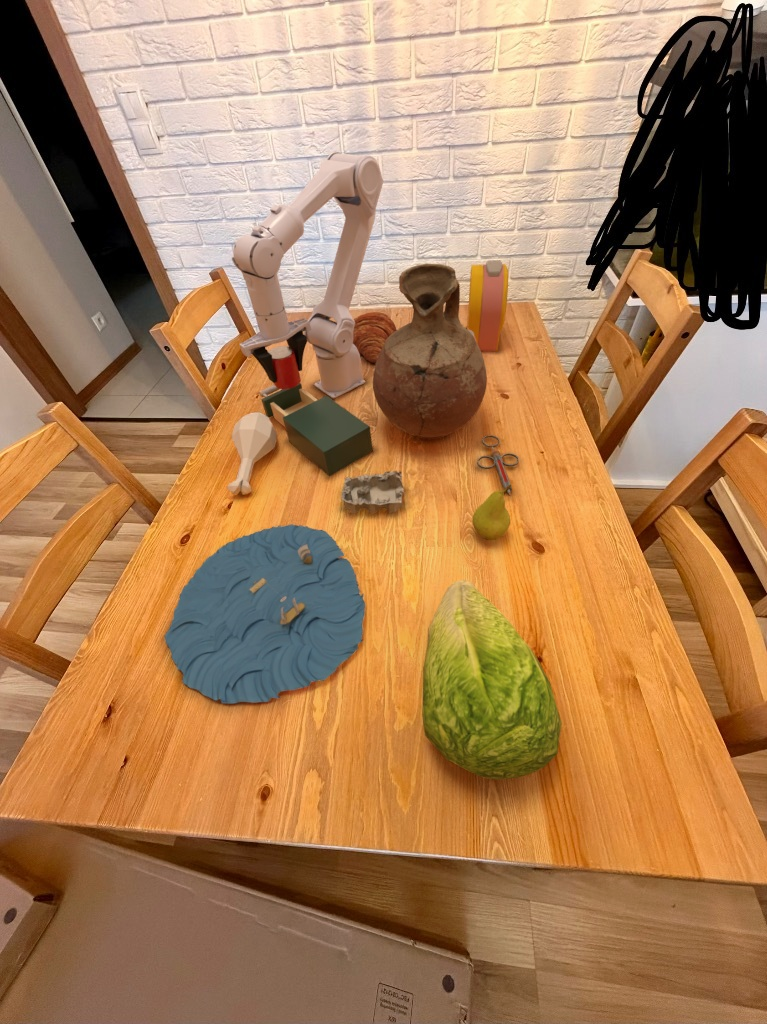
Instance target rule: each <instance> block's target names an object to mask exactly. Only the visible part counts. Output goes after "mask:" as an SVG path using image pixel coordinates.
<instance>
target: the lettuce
mask: <svg viewBox="0 0 767 1024" xmlns="http://www.w3.org/2000/svg"><path fill="white" fill-rule="evenodd" d="M426 642H427V643H426V650H425V654H424V655H425V656H424V660H423V661H424V662H423V667H422V701H421V702H422V704H421V705H422V706H421V707H422V709H421V715H422V723H423V731H424V736H425V738H427V740H428V741H429V742H430V744H432V745H433V747H435V748H436V750H437V751H438V752H439V753H440V754H441V755H442V756H443V757H444V758H445V759H446V760H447V761H449V762H450V763H453V764H455V765H456V766H458V767H460V768H462V769H464V770H466V771H468V772H469V773H471V774H473V775H475V776H477V777H481V778H484V779H488V780H495V781H502V780H512V779H517V778H522V777H526V776H529V775H531V774H535V773H537V772H538V771H540V770H542V769H543V768H545V767H547V765H548V764H549V763H551V761H552V760H553V758H555V757H556V756H557V755H558V752H559V746H560V738H561V732H562V731H561V730H562V724H563V723H562V719H561V715H560V712H559V710H558V706H557V703H556V699H555V696H554V692H553V688H552V685H551V681H550V680H549V678H548V676H547V674H546V672H545V670H544V668H543V666H542V665H541V663H540V661H539V659H538V657H537V656H536V654H535V652H534V650H533V649H532V648H531V647H530V646H529V645H528V643H527V642H526V641H525V640H524V638H522V636H521V634H519V632H518V631H517V629H516V628H515V627H514V625H512V623H511V622H510V621H509V619H508V617H506V616H505V615H504V614H503V613H502V612H501V611H500V609H498V608H497V606H496V605H494V604H493V603H492V602H491V601H490V600H489V599H488V598H487V597H486V596H485V595H484V594H483V593H482V592H480V591H479V590H478V589H477V587H476V586H475V584H473V582H471V581H468V580H465V579H462V580H457V581H454V582H452V583H451V584H450V585H449V586H448V587H447V589H446V591H444V594H443V596H442V598H441V601H440V603H439V605H438V607H437V609H436V610H435V612H434V615H433V617H432V619H431V621H430V624H429V625H428V628H427V641H426Z"/></svg>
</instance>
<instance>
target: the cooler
mask: <svg viewBox="0 0 767 1024" xmlns="http://www.w3.org/2000/svg"><path fill="white" fill-rule="evenodd" d="M283 421H284V425H285V427H284V428H285V431H286V435H287V438H288V441H289V443H290V444H292V445H293V446H294V447H295V448H296V449H297V450H298V451H299V452H301V453H302V454H303V455H304V456H305V457H306V458H308V460H309V461H311V462H312V463H313V464H314V465H315V466H317V467H318V468H319V469H320V470H321V471H322V472H323V473H325V475H327V476H328V477H331V476H333V475H334V474H336V473H339V472H340V471H342V470H344V469H345V468H346V467H348V466H351V465H353V463H355V462H357V461H358V460H360V459H361V458H362V459H363V457H366V456H367V455H369V454H370V453H372V452H373V451H374V450H373V441H372V433H371V426H370V425H368V424H367V423H366V422H364V421H363V420H361V419H360V418H359V417H358V416H355V414H353V413H352V412H350V411H349V410H347V409H346V408H344V406H341V405H340V404H339V403H337V402H336V401H334V400H333V398H331V397H330V396H328V395H325V396H323V397H320V398H319V399H318V400H317V401H315V402H313V403H311V404H309V405H307V406H305V407H303V408H301V409H299V410H297V411H295V412H293V413H291V414H289V415H287V416H285V417H283Z"/></svg>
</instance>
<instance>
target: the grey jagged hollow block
mask: <svg viewBox="0 0 767 1024" xmlns="http://www.w3.org/2000/svg"><path fill="white" fill-rule="evenodd" d="M404 489H405V487H404V485H403V473H402V471H401V470H398V471H397V470H393V471H392V470H388V471H384V473H375V474H362V475H359V476H354V477H351V476H346V477H344V483H343V487H342V491H341V497H340V499H341V501H342V502H343V507H344V509H346V510H348V511H349V513H350V515H355V514H357V513H358V512H359V511H360V510H367V511H368V512H369V514H371V515H375V514H377V511H379V510H383V509H384V510H387V511H388V513H389V514H395V513H396V511H398V510H399V509H401V508H402V507H403V494H404Z"/></svg>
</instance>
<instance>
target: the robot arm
mask: <svg viewBox="0 0 767 1024" xmlns="http://www.w3.org/2000/svg"><path fill="white" fill-rule="evenodd" d="M383 184H384V179H383V175H382V171H381V167H380V165H379V162H378V161H377V159H376V158H375V157H374V156H373V155H358V154H357V155H356V154H348V153H342V152H339V151H333V152H331V153H329V154H328V156H326V158H325V159H323V160H322V161H321V162H320V163H319V170H318V171H317V172H316V173H315V175H314V176H313V177H312V178H311V179H310V180H309V182H308V183H307V184H306V186H304V188H303V189H302V190H301V191H300V192H299V193H298V195H297V196H296V197H295V198H294V199H293V201H292V202H290V204H289V205H288V204H285V203H280V204H278V205H277V204H273V205H272V206H271V207H270V209H269V211H270V213H269V215H267V216H266V217H265V218H264V220H262V221H261V222H260V223H259V224H258V225H254V227H252V229H251V230H252V232H251V233H250V234H242V235H241V236H239V237H238V238H237V239H236V241H235V243H234V246H233V249H232V250H233V251H232V253H233V256H231V261H232V264H233V265H234V266H235V267H236V269H237V270H239V271H240V272H241V275H242V278H243V280H244V281H245V285H246V288H247V293H248V296H249V299H250V302H251V303H250V304H251V306H252V310H253V314H254V317H255V321H256V324H257V328H258V331H259V332H257V333H256V334H253V335H252V336H251V337H249V338H248V339H246V340H245V341H243V342H240V343H239V348H240V350H241V353H242V354H243V355H244V356H245V357H247V358H248V357H250V356H253V357H254V358H255V360H256V361H257V362H258V363H259V364H260V366H261V367H262V369H263V371H264V372H265V374H266V376H267V378H268V380H269V381H271V382H272V383H273V384H274V383H275V382H277V379H276V375H275V372H274V369H273V363H272V355H271V354H270V353H268V352H269V350H268V349H267V347H269V346H272V345H274V344H279V343H283V342H285V341H286V343H287V346H288V347H291V348H293V349H294V352H295V356H296V361H297V365H298V369H299V372H302V371H303V361H304V360H303V359H304V354H305V348H306V346H307V343H308V344H310V345H311V346H312V349H313V351H314V354H315V358H316V362H317V369H318V374H319V379H320V380H318V381H316V382H315V383H314V384H313V386H314V387H315V388H317V389H318V390H320V392H322V393H324V394H325V395H326V396H327V397H329V398H330V399H332V400H333V399H336V398H339V397H340V396H342V395H344V394H346V393H348V392H350V391H352V390H354V389H356V388H357V387H360V386H362V385H364V384H365V383H366V380H365V379H364V375H363V367H362V359H361V354H360V353H359V352H358V349H357V348H356V346H355V345H354V344H353V330H354V326H355V321H354V319H355V318H354V317H353V316H352V314H351V312H350V306H351V303H352V300H353V296H354V293H355V290H356V286H357V282H358V279H359V276H360V272H361V269H362V265H363V262H364V258H365V255H366V251H367V248H368V245H369V242H370V238H371V234H372V231H373V228H374V224H375V219H376V213H377V212H376V211H377V206H378V202H379V199H380V196H381V192H382V188H383V186H384V185H383ZM332 199H334V200H335V202H336V204H337V205H338V206H339V208H340V209H341V211H342V213H343V215H344V218H345V220H344V223H343V227H342V231H341V235H340V238H339V243H338V245H337V250H336V253H335V256H334V260H333V265H332V268H331V272H330V276H329V279H328V283H327V287H326V290H325V294H324V298H323V300H322V301H321V302H319V303H318V304H316V305H315V306H314V307H313V308H312V312H311V315H310V316H309V318H308V319H307V318H305V317H303V318H299V319H295V320H292V321H289V319H288V315H287V310H286V307H285V302H284V297H283V294H282V289H281V284H280V280H279V276H278V273H279V271H280V269H281V264H282V259H283V258H284V256H285V254H286V253H287V252H288V251H289V250H290V249H291V248H292V247H293V246H294V245H295V244H296V243H297V242H298V241H299V239H300V238H302V236H304V233H305V223H306V222H307V221H308V220H309V219H310V218H312V217H313V216H314V215H315V214H316V213H317V212H318V211H319V210H320V209H321V208H323V207H324V206H325V205H326V204H327V203H328V202H329V201H330V200H332ZM331 319H334V320H335V321H334V320H331Z"/></svg>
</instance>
